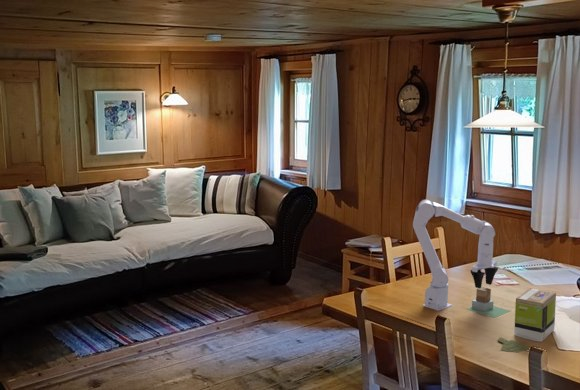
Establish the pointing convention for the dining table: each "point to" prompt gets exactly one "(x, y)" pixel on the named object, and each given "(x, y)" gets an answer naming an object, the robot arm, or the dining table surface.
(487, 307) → the base block
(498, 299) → the dining table surface
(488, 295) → the walnut cube
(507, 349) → the green leaf
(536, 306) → the tea box
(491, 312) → the felt mat
